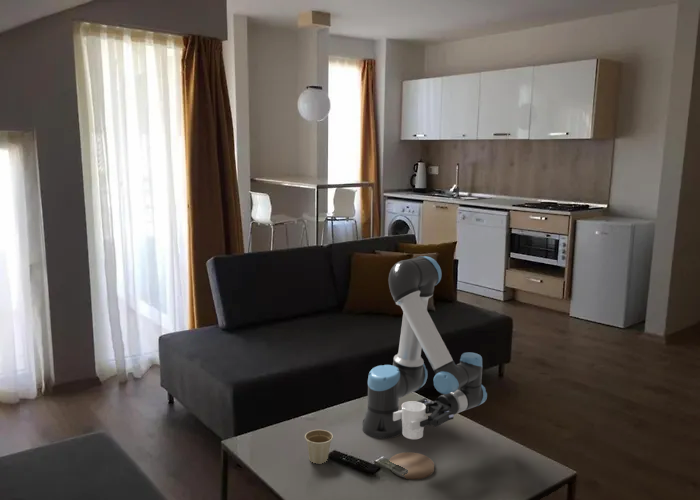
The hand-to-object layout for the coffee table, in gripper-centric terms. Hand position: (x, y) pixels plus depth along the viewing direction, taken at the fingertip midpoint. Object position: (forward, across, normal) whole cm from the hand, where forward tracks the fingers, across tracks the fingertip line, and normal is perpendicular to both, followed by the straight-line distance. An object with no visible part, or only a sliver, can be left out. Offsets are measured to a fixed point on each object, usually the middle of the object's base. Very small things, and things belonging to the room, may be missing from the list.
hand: (402, 421), depth 193 cm
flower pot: (+17, +22, -18) cm, 33 cm away
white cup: (-5, 0, -6) cm, 8 cm away
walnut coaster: (-5, 0, -18) cm, 18 cm away
